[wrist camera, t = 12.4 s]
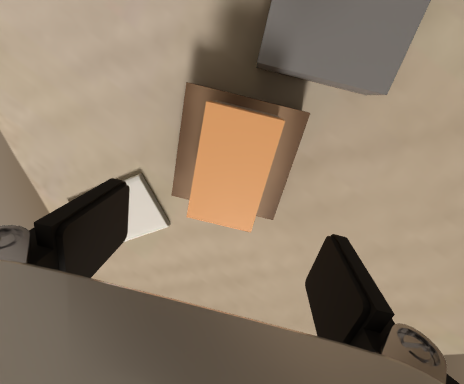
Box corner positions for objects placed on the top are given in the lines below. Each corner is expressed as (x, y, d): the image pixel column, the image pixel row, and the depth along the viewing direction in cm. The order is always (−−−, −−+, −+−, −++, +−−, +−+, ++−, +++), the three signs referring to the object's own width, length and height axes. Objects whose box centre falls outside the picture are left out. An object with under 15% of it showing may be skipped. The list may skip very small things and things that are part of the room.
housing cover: (250, 221, 23) (250, 232, 21) (192, 207, 22) (186, 216, 21) (282, 118, 19) (285, 121, 17) (210, 100, 18) (206, 101, 17)
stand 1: (301, 110, 25) (310, 113, 21) (270, 204, 30) (272, 219, 26) (196, 84, 25) (186, 82, 21) (181, 183, 30) (171, 195, 26)
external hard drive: (172, 221, 33) (103, 245, 36) (143, 171, 30) (71, 200, 33) (168, 227, 32) (97, 251, 34) (137, 175, 29) (62, 205, 31)
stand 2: (430, -55, 19) (472, -91, 16) (366, 95, 24) (386, 94, 20) (294, -91, 19) (303, -135, 15) (256, 67, 24) (257, 62, 20)
